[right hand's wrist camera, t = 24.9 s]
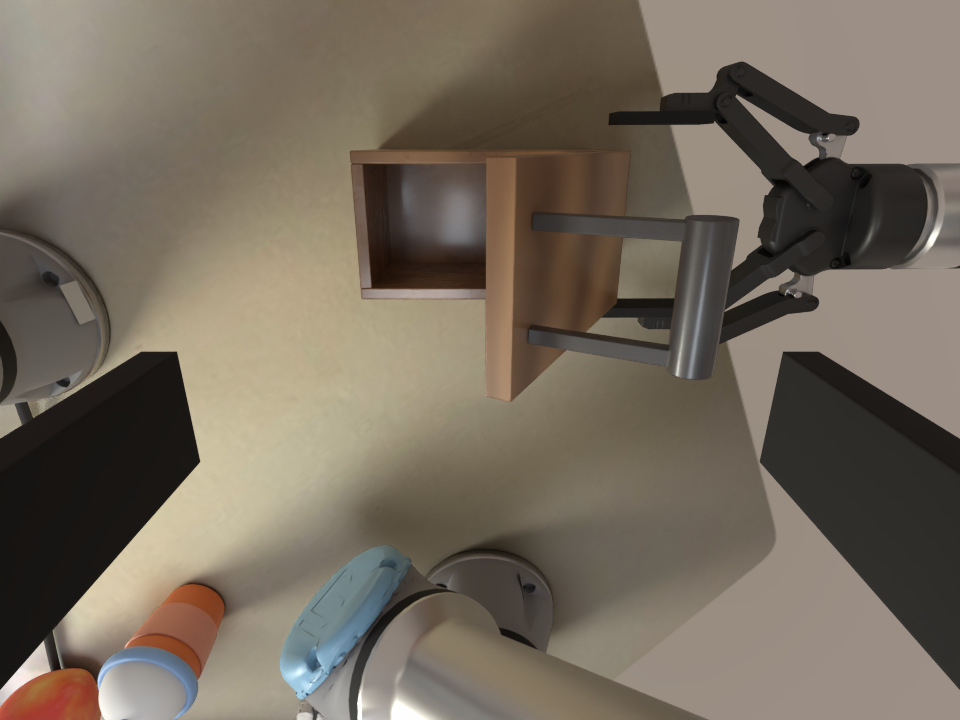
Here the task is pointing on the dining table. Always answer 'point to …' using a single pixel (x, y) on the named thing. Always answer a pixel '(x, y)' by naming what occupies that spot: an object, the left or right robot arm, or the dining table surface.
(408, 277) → the chest
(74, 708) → the apple
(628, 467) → the dining table surface
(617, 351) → the lid
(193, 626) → the cup with straw
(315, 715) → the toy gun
